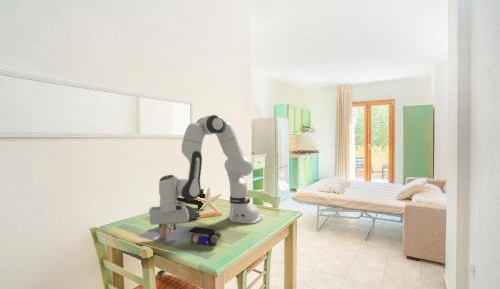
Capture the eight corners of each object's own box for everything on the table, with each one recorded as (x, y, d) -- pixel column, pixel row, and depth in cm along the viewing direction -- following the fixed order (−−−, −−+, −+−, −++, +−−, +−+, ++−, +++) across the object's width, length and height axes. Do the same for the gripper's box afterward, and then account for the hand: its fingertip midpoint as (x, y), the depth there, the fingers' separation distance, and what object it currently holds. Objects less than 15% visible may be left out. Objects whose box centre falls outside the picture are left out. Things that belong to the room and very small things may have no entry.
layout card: (203, 230, 143) (203, 229, 143) (176, 246, 124) (176, 245, 124) (167, 223, 156) (167, 222, 156) (137, 236, 137) (137, 235, 137)
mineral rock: (201, 218, 163) (201, 203, 162) (190, 224, 153) (190, 208, 153) (186, 216, 169) (185, 201, 168) (174, 221, 159) (173, 206, 158)
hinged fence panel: (171, 229, 143) (170, 219, 143) (174, 229, 143) (173, 219, 143) (159, 239, 130) (159, 228, 130) (162, 239, 130) (162, 228, 130)
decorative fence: (206, 208, 184) (205, 188, 183) (201, 211, 179) (200, 190, 178) (172, 203, 199) (171, 185, 198) (166, 205, 194) (165, 186, 193)
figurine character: (220, 244, 129) (193, 238, 132) (222, 229, 128) (194, 224, 131) (216, 250, 122) (187, 244, 125) (217, 235, 121) (188, 229, 125)
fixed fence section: (176, 229, 145) (176, 217, 145) (174, 230, 143) (173, 218, 143) (160, 226, 151) (160, 214, 150) (158, 227, 149) (157, 215, 149)
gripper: (146, 209, 130) (148, 234, 131) (186, 206, 132) (188, 232, 133) (150, 205, 137) (152, 229, 138) (188, 202, 138) (190, 227, 139)
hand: (170, 230), depth 135 cm, fingers closed
